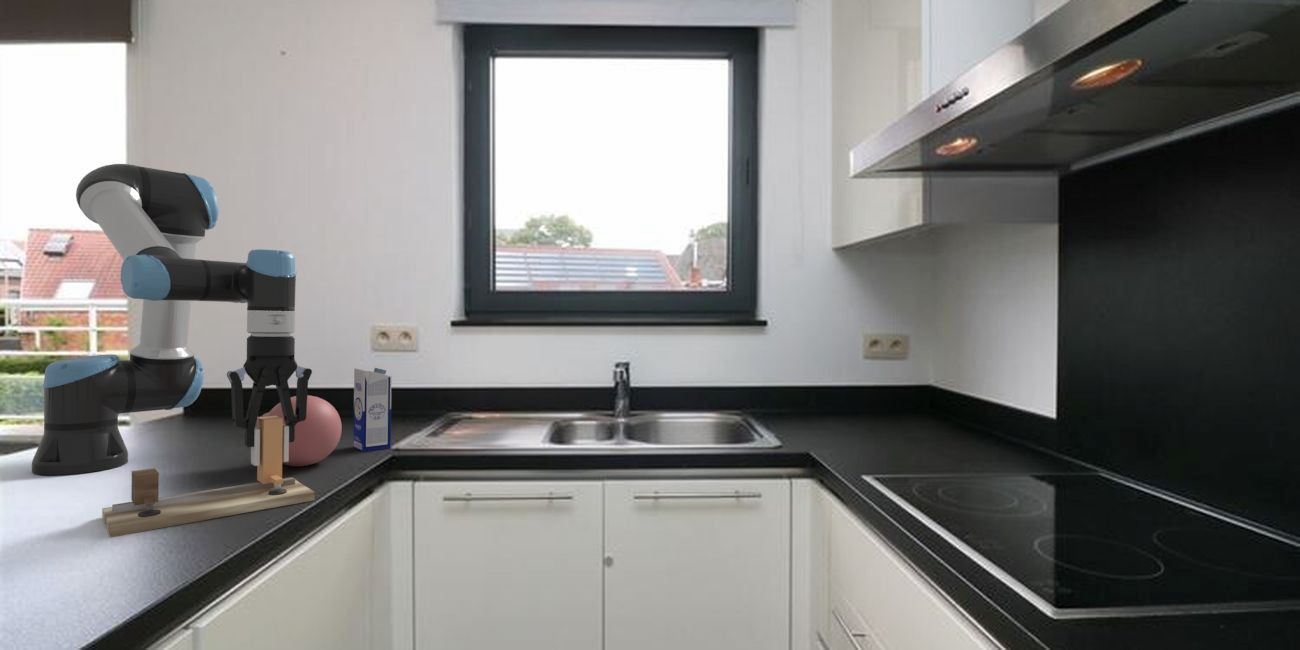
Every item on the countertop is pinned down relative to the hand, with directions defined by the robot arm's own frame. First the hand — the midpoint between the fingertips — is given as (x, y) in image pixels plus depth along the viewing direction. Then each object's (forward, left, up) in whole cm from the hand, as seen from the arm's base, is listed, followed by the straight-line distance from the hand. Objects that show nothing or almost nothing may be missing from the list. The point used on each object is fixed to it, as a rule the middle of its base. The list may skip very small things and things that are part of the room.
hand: (269, 462), depth 116 cm
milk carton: (-29, +30, -6) cm, 43 cm away
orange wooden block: (+2, 0, -4) cm, 4 cm away
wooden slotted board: (+3, -9, -6) cm, 11 cm away
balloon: (-22, +10, -6) cm, 25 cm away
